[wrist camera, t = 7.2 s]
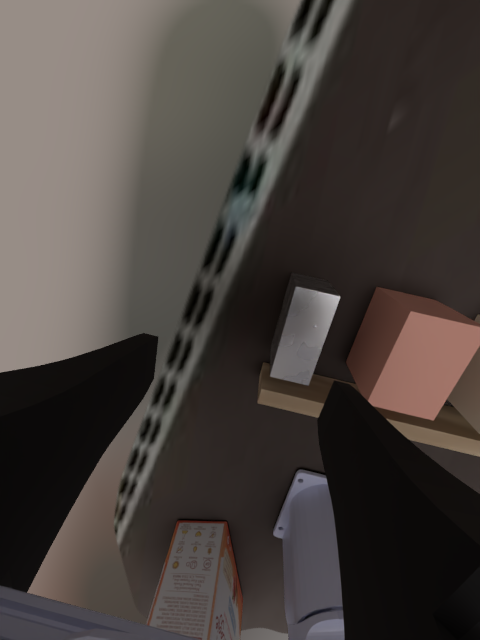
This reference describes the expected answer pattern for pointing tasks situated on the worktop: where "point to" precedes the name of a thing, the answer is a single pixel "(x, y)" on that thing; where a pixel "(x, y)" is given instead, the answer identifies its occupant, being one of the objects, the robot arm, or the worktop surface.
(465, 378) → the cream rectangular block
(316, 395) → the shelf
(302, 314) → the grey rectangular block
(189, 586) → the cracker box
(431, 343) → the pink rectangular block
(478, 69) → the worktop surface
